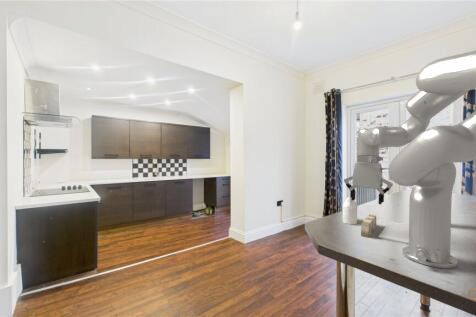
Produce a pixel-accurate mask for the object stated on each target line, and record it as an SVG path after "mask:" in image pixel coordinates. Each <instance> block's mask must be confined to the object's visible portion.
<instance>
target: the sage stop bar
mask: <svg viewBox="0 0 476 317" xmlns="http://www.w3.org/2000/svg"><path fill="white" fill-rule="evenodd" d="M340 219H341V220H343V215H341V216H340ZM364 220H365V219H362V218H358V217H357V223H360V224H361V223H362V222H363V221H364Z"/></svg>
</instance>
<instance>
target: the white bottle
mask: <svg viewBox="0 0 476 317" xmlns="http://www.w3.org/2000/svg"><path fill="white" fill-rule="evenodd" d="M351 199H352V198H350V196H348V197H346V199H345V201H344V203H343V204H342V216H343V219H342V223H344V224H346V223H347V224H346V225H357V224H358V222H357V218H358V203H357V202H356V201H355V200H351Z"/></svg>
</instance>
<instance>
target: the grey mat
mask: <svg viewBox="0 0 476 317" xmlns="http://www.w3.org/2000/svg"><path fill="white" fill-rule="evenodd" d="M377 237H378V239H381V240H385V241H391V242H396V243H400V244H404V245H409V223H404V222H397V221H392V220H389V221H388V222H387V224H386V226H385V227H384V228H383V230H382V231H381V232H380V233H379V235H378V236H377Z"/></svg>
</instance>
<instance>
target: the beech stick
mask: <svg viewBox="0 0 476 317" xmlns="http://www.w3.org/2000/svg"><path fill="white" fill-rule="evenodd" d="M376 226H377V214H371V213H370V214H369V215H368V216H367V217H365V219H364V221H363V222H362V223H360V236H361V237H364V238H370V237H371V235H372V233H373V232H374V230H375V229H376Z"/></svg>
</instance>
